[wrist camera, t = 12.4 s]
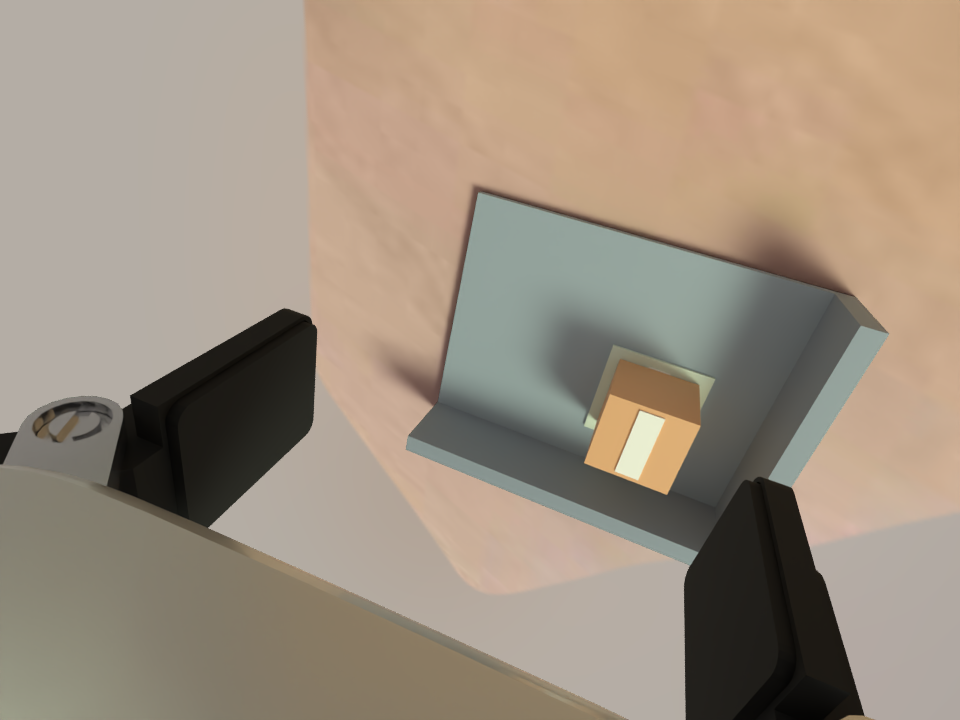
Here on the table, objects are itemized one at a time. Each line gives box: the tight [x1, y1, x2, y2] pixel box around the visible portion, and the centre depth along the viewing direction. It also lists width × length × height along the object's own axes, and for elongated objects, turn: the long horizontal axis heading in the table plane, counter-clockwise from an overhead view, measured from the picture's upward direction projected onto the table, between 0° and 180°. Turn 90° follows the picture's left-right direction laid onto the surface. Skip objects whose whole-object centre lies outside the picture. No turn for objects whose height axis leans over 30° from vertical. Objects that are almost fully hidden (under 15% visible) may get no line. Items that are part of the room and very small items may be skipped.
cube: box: [584, 359, 701, 495], centre depth 32 cm, size 5×5×5 cm
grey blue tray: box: [406, 191, 889, 565], centre depth 33 cm, size 22×17×6 cm
